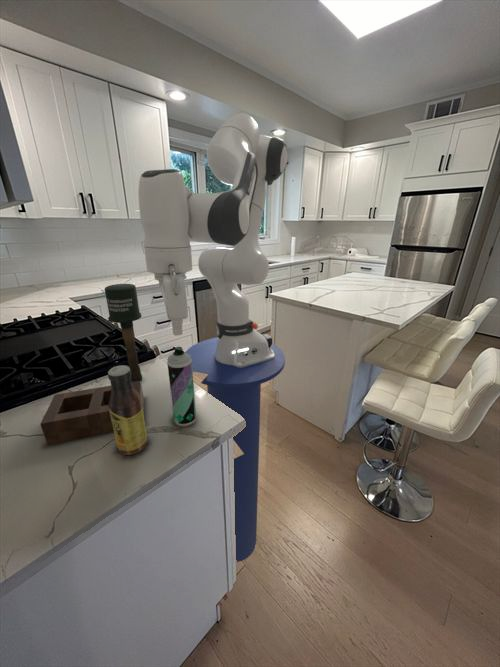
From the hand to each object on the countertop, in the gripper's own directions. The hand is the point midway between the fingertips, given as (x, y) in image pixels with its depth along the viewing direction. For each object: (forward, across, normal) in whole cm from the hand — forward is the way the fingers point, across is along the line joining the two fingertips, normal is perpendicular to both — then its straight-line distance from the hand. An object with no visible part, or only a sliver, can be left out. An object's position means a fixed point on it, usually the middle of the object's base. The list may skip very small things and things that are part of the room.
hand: (175, 326), depth 60 cm
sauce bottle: (+26, -5, +12) cm, 29 cm away
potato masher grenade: (+26, +23, +12) cm, 36 cm away
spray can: (+26, 0, 0) cm, 26 cm away
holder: (+26, +7, +20) cm, 33 cm away
